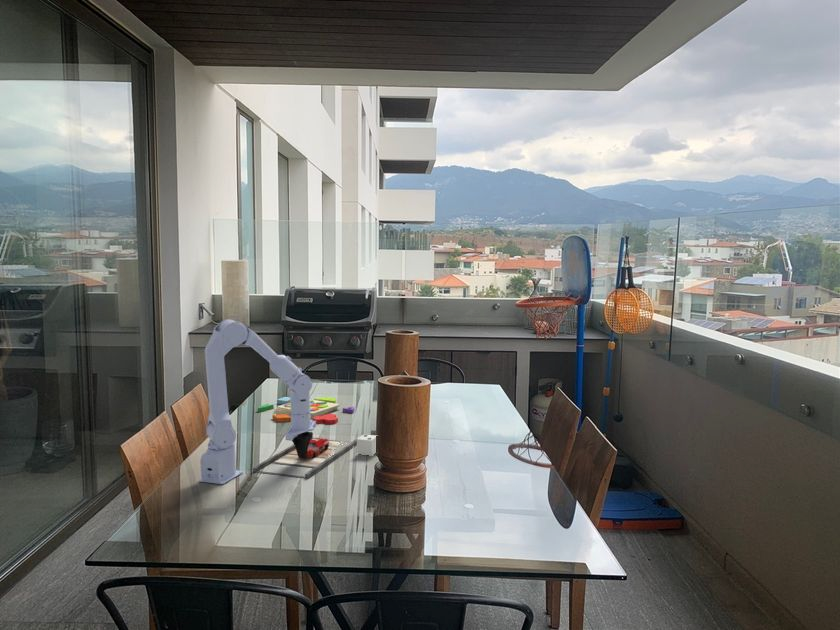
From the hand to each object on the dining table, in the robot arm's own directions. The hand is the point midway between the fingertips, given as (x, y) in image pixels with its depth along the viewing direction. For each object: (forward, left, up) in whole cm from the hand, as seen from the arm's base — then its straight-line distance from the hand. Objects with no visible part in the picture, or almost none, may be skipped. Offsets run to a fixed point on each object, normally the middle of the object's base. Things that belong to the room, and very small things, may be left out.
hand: (302, 457), depth 187 cm
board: (+4, 0, -1) cm, 4 cm away
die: (+12, -16, -1) cm, 20 cm away
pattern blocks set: (+52, +28, -2) cm, 59 cm away
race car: (+7, 0, -1) cm, 7 cm away
